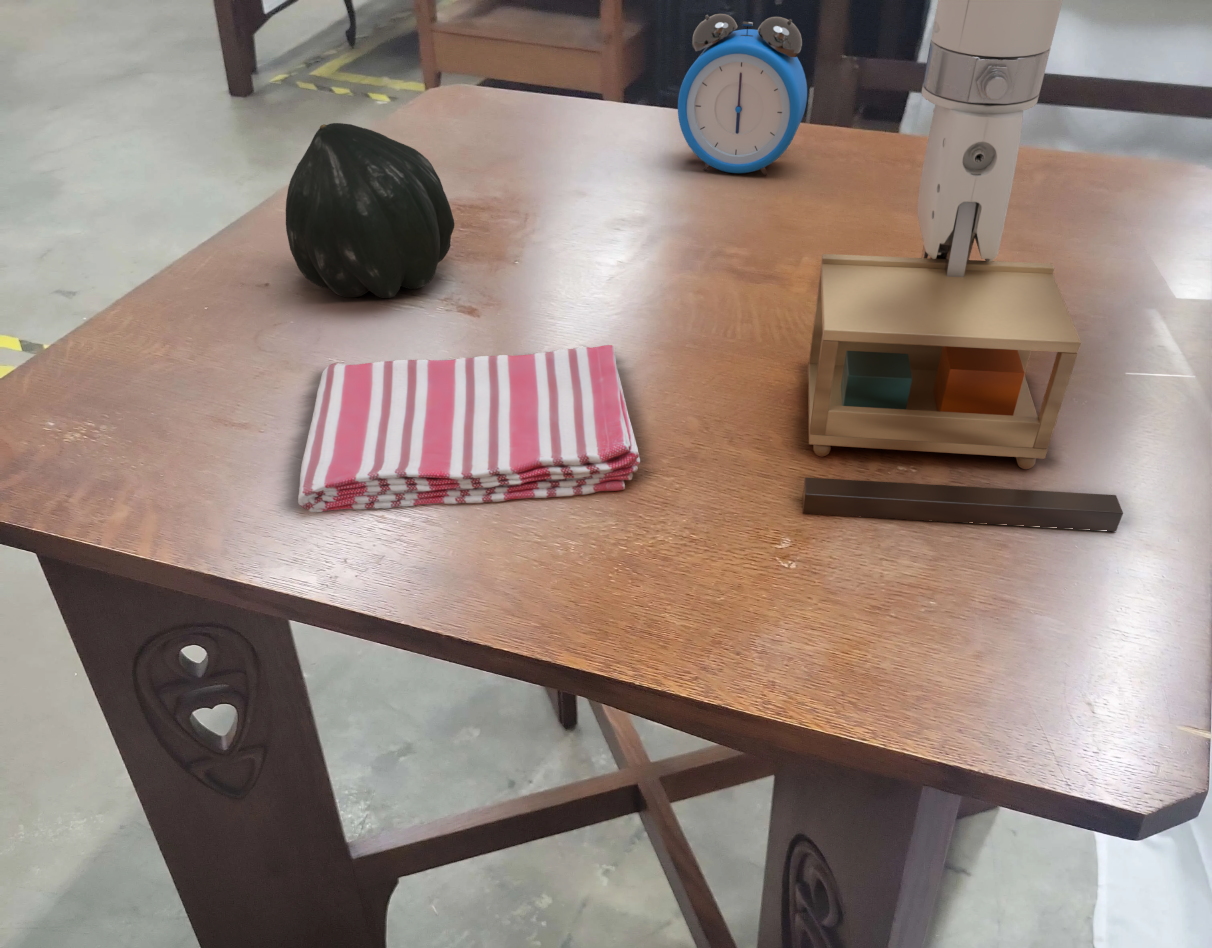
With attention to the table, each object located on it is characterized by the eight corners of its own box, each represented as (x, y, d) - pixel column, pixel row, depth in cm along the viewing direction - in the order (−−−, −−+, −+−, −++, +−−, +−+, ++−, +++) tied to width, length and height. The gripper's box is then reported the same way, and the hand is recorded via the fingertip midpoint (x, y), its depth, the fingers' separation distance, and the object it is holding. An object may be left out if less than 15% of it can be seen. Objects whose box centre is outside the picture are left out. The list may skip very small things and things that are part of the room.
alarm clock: (674, 170, 117) (678, 20, 107) (687, 152, 122) (692, 5, 112) (792, 181, 114) (808, 27, 104) (801, 161, 119) (816, 12, 109)
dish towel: (643, 492, 72) (643, 449, 70) (297, 518, 71) (286, 475, 68) (615, 368, 85) (614, 328, 83) (321, 388, 83) (312, 347, 81)
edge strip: (1108, 514, 70) (1116, 494, 69) (1116, 532, 68) (1123, 512, 67) (802, 496, 72) (804, 476, 71) (802, 513, 70) (805, 494, 69)
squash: (483, 185, 100) (355, 62, 92) (481, 259, 89) (337, 126, 81) (385, 283, 106) (258, 176, 98) (373, 363, 95) (228, 249, 87)
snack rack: (1016, 392, 81) (1053, 263, 74) (1040, 473, 73) (1083, 336, 66) (806, 381, 83) (822, 253, 76) (806, 458, 75) (824, 323, 68)
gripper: (1064, 111, 64) (992, 380, 76) (1024, 44, 75) (966, 288, 87) (937, 106, 65) (886, 374, 77) (915, 41, 76) (874, 284, 88)
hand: (929, 328), depth 82 cm, fingers closed
